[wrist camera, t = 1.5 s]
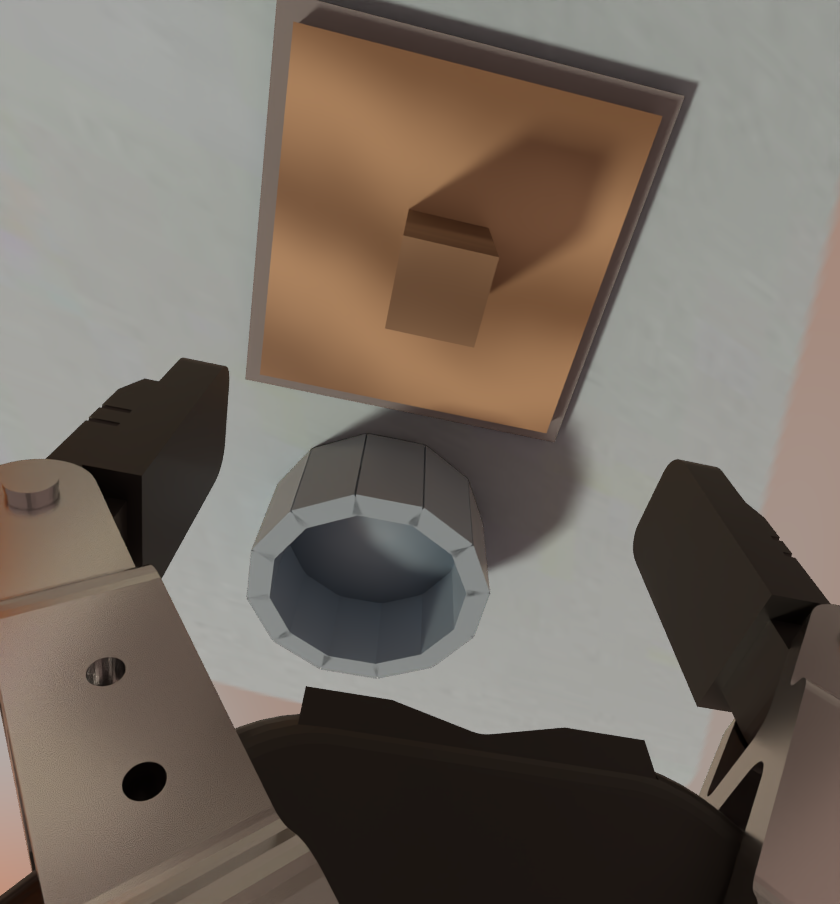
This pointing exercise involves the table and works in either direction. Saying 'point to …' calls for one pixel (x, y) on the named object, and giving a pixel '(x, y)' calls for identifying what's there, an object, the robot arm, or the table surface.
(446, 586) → the bowl
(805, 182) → the table surface
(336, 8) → the mat
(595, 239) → the lid
